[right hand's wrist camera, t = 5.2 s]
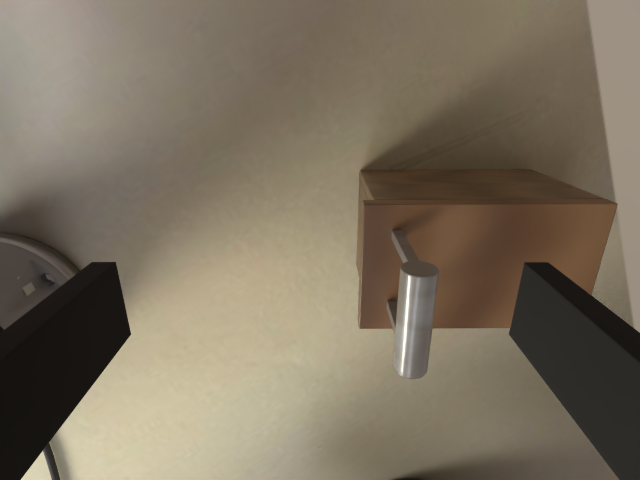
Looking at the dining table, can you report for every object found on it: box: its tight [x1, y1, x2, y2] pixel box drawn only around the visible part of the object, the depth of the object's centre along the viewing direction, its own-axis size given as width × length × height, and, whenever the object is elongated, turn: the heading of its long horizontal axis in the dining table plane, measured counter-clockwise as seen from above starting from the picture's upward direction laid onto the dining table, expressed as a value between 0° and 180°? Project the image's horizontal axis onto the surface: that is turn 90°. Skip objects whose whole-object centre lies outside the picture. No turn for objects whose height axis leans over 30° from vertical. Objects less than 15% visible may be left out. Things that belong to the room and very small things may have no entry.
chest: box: [357, 170, 604, 275], centre depth 33 cm, size 16×10×10 cm, turn 90°
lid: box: [358, 199, 617, 379], centre depth 24 cm, size 17×10×8 cm, turn 90°
